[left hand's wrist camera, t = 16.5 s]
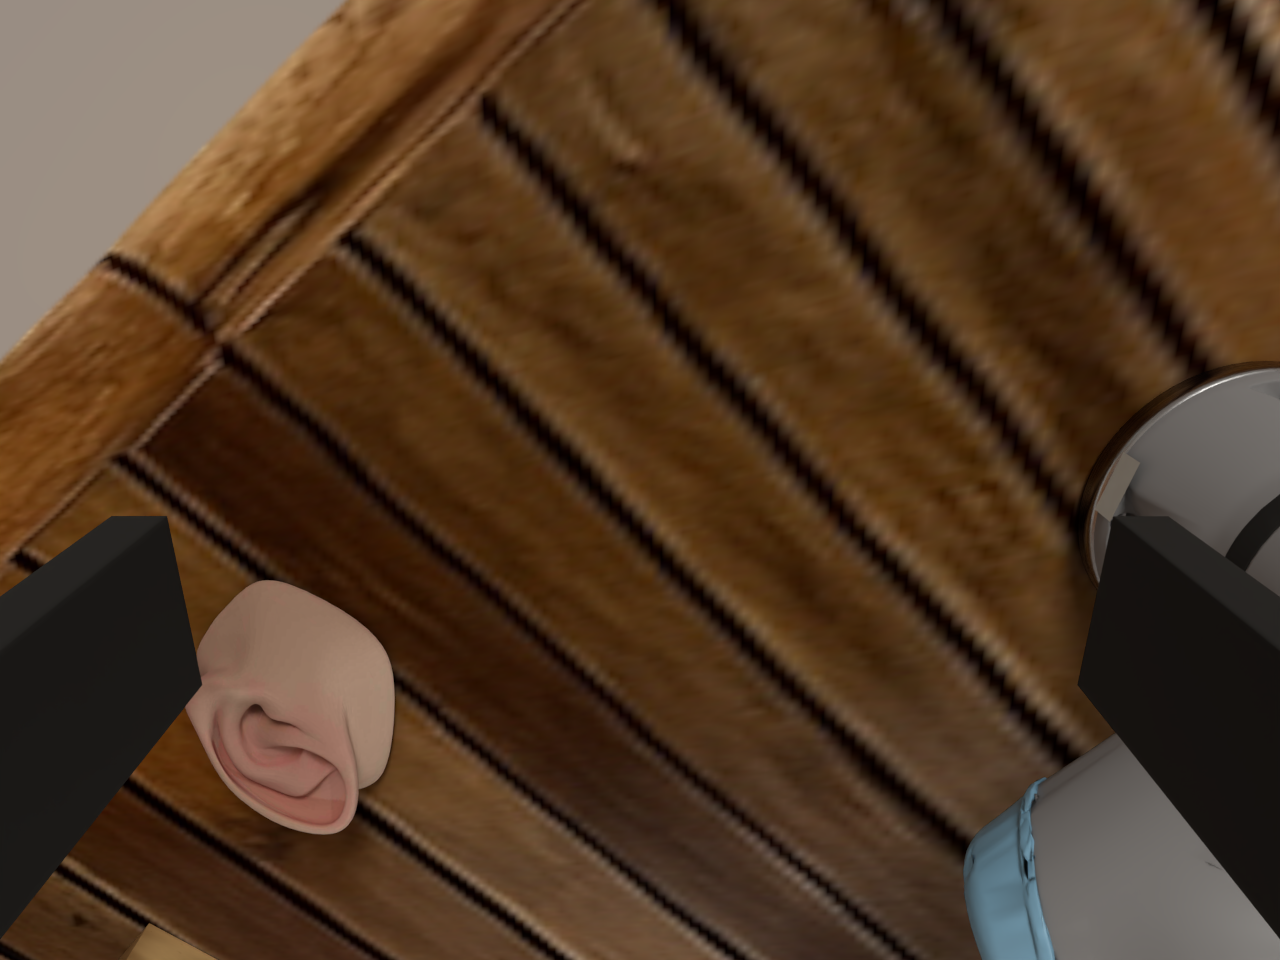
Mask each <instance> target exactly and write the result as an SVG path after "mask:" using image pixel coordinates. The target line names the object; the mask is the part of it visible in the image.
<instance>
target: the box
mask: <svg viewBox="0 0 1280 960" xmlns="http://www.w3.org/2000/svg"><path fill="white" fill-rule="evenodd" d="M119 960H217V959H215V958H214V957H212V956H210V955H208V954H206V953H204V952H202V951H201V950H199V949H197V948H195V947H193V946H191V945H189V944H187V943H186V942H184V941H182V940H180V939H178V938H176V937H174V936H173V935H171V934H169V933H167V932H165V931H163V930H161V929H159V928H158V927H156V926H154V925H152V924H150V923H149V924H148V925H147V926H146V927H145V929H144V930H143V931H142V932H141V933H140V935H139V936H138V937H137V938H136V939H135V941H134V942H133V943H132V944H131V945H130V946H129V948H128V949H127V950H126V951H125V952H124V954H123V955H122V956H121V957H120V958H119Z"/></svg>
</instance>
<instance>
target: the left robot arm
mask: <svg viewBox="0 0 1280 960" xmlns="http://www.w3.org/2000/svg"><path fill="white" fill-rule="evenodd" d="M1078 539H1079V547H1080V553H1081V557H1082V560H1083V563H1084V567H1085V569H1086V571H1087V574H1088V576H1089V578H1090V580H1091V581H1092V583H1093V585H1094V586H1095V588H1096V589H1097V595H1096V600H1095V605H1094V609H1093V614H1092V619H1091V624H1090V628H1089V633H1088V638H1087V643H1086V647H1085V652H1084V657H1083V662H1082V666H1081V671H1080V676H1079V680H1078V686H1079V687H1080V689H1081V690H1082V691H1083V692H1084V694H1085V695H1086V696H1087V697H1088V699H1089V700H1090V701H1091V702H1092V704H1093V705H1094V706H1095V707H1096V709H1097V710H1098V711H1099V712H1100V714H1101V715H1102V716H1103V717H1104V719H1105V720H1106V721H1107V722H1108V724H1109V725H1110V726H1111V727H1112V729H1113V730H1114V731H1115V733H1114V734H1113V735H1111V736H1110V737H1108V738H1107V739H1105V740H1104V741H1103V742H1101V743H1100V744H1098V745H1097V746H1095V747H1094V748H1092V749H1091V750H1090V751H1088V752H1087V753H1085V754H1084V755H1082V756H1081V757H1079V758H1078V759H1076V760H1075V761H1073V762H1072V763H1070V764H1069V765H1067V766H1066V767H1064V768H1062V769H1061V770H1059V771H1058V772H1056V773H1055V774H1053V775H1052V776H1050V777H1049V778H1045V777H1044V778H1041V779H1039V780H1037V781H1036V782H1034V783H1033V784H1031V785H1030V786H1029V787H1028V789H1027V791H1026V792H1025V794H1024V796H1023V797H1021V798H1020V799H1019V800H1018V801H1016V802H1015V803H1014V804H1013V805H1011V806H1010V807H1009V808H1008V809H1006V810H1005V811H1004V812H1003V813H1001V814H1000V815H999V816H998V817H996V818H995V819H994V820H992V821H991V822H990V823H988V824H987V825H986V826H984V827H983V828H982V829H981V830H980V831H979V832H978V833H977V834H976V835H975V837H974V838H973V840H972V841H971V843H970V845H969V847H968V850H967V852H966V856H965V863H964V869H963V876H964V884H965V885H964V889H965V890H964V896H965V902H966V907H967V912H968V916H969V920H970V924H971V928H972V931H973V934H974V938H975V941H976V944H977V947H978V949H979V952H980V955H981V958H982V960H1280V362H1275V361H1256V362H1245V363H1238V364H1232V365H1228V366H1224V367H1219V368H1216V369H1213V370H1210V371H1207V372H1204V373H1201V374H1199V375H1196V376H1194V377H1191V378H1189V379H1187V380H1185V381H1183V382H1181V383H1179V384H1177V385H1175V386H1173V387H1172V388H1170V389H1168V390H1167V391H1165V392H1163V393H1162V394H1160V395H1159V396H1157V397H1156V398H1154V399H1153V400H1152V401H1150V402H1149V403H1148V404H1146V405H1145V406H1144V407H1143V408H1142V409H1140V410H1139V411H1138V412H1137V413H1136V414H1135V415H1133V416H1132V417H1131V418H1130V419H1129V420H1128V421H1127V422H1126V423H1125V424H1124V425H1123V426H1122V428H1121V429H1120V430H1119V431H1118V432H1117V433H1116V435H1115V436H1114V437H1113V438H1112V439H1111V441H1110V442H1109V444H1108V445H1107V447H1106V448H1105V449H1104V451H1103V452H1102V454H1101V456H1100V457H1099V459H1098V461H1097V462H1096V464H1095V466H1094V468H1093V470H1092V472H1091V475H1090V477H1089V479H1088V482H1087V484H1086V487H1085V490H1084V493H1083V497H1082V501H1081V505H1080V511H1079V519H1078ZM201 686H202V680H201V676H200V671H199V666H198V662H197V657H196V652H195V647H194V643H193V638H192V633H191V628H190V624H189V619H188V614H187V609H186V605H185V600H184V595H183V590H182V586H181V581H180V576H179V572H178V567H177V562H176V557H175V553H174V548H173V543H172V538H171V534H170V529H169V524H168V519H167V516H111V517H110V518H108V519H107V520H106V521H104V522H103V523H102V524H100V525H99V526H97V527H96V528H95V529H93V530H92V531H91V532H89V533H88V534H86V535H85V536H84V537H82V538H81V539H79V540H78V541H77V542H75V543H74V544H73V545H71V546H70V547H68V548H67V549H66V550H64V551H63V552H61V553H60V554H59V555H57V556H56V557H55V558H53V559H52V560H50V561H49V562H48V563H46V564H45V565H43V566H42V567H41V568H39V569H38V570H37V571H35V572H34V573H32V574H31V575H30V576H28V577H27V578H25V579H24V580H23V581H21V582H20V583H19V584H17V585H16V586H14V587H13V588H12V589H10V590H9V591H7V592H6V593H5V594H3V595H2V596H1V597H0V939H1V937H2V936H3V935H4V934H5V932H6V931H7V930H8V929H9V927H10V926H11V925H12V924H13V922H14V921H15V920H16V919H17V917H18V916H19V915H20V914H21V912H22V911H23V910H24V909H25V907H26V906H27V905H28V904H29V902H30V901H31V900H32V898H33V897H34V896H35V895H36V893H37V892H38V891H39V890H40V888H41V887H42V886H43V885H44V883H45V882H46V881H47V880H48V878H49V877H50V876H51V875H52V873H53V872H54V871H55V870H56V868H57V867H58V866H59V865H60V863H61V862H62V861H63V860H64V858H65V857H66V856H67V854H68V853H69V852H70V851H71V849H72V848H73V847H74V846H75V844H76V843H77V842H78V841H79V839H80V838H81V837H82V836H83V834H84V833H85V832H86V831H87V829H88V828H89V827H90V826H91V824H92V823H93V822H94V821H95V819H96V818H97V817H98V815H99V814H100V813H101V812H102V810H103V809H104V808H105V807H106V805H107V804H108V803H109V802H110V800H111V799H112V798H113V797H114V795H115V794H116V793H117V792H118V790H119V789H120V788H121V787H122V785H123V784H124V783H125V782H126V780H127V779H128V778H129V777H130V775H131V774H132V773H133V771H134V770H135V769H136V768H137V766H138V765H139V764H140V763H141V761H142V760H143V759H144V758H145V756H146V755H147V754H148V753H149V751H150V750H151V749H152V748H153V746H154V745H155V744H156V743H157V741H158V740H159V739H160V738H161V736H162V735H163V734H164V733H165V731H166V730H167V729H168V727H169V726H170V725H171V724H172V722H173V721H174V720H175V719H176V717H177V716H178V715H179V714H180V712H181V711H182V710H183V709H184V707H185V706H186V705H187V704H188V702H189V701H190V700H191V699H192V697H193V696H194V695H195V694H196V692H197V691H198V690H199V689H200V687H201Z"/></svg>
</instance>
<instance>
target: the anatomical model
mask: <svg viewBox="0 0 1280 960" xmlns="http://www.w3.org/2000/svg"><path fill="white" fill-rule="evenodd" d="M197 662H198V666H199V671H200V675H201V680H202V686H201V687H200V689H199V690H198V691H197V692H196V694H195V695H194V696H193V697H192V699H191V700H190V701H189V702H188V704H187V705H186V706H185V708H186V711H187V714H188V716H189V718H190V720H191V722H192V724H193V726H194V728H195V730H196V732H197V734H198V736H199V738H200V740H201V743H202V745H203V747H204V749H205V751H206V753H207V755H208V757H209V759H210V761H211V763H212V765H213V766H214V768H215V770H216V771H217V773H218V774H219V776H220V777H221V779H222V780H223V781H224V783H225V784H226V785H227V786H228V788H229V789H230V790H231V791H232V792H233V793H234V794H235V795H236V796H237V797H238V798H239V799H241V800H242V801H243V802H245V803H246V804H247V805H249V806H250V807H251V808H252V809H254V810H255V811H257V812H258V813H260V814H262V815H263V816H265V817H266V818H268V819H270V820H272V821H274V822H276V823H278V824H280V825H283V826H285V827H288V828H291V829H294V830H298V831H302V832H307V833H312V834H333V833H337V832H339V831H341V830H343V829H344V828H346V827H347V826H348V825H349V823H350V822H351V820H352V819H353V817H354V814H355V811H356V808H357V803H358V796H359V789H361V788H364V787H367V786H369V785H371V784H373V783H374V782H375V781H377V780H378V779H379V777H380V776H381V775H382V773H383V771H384V769H385V767H386V764H387V761H388V757H389V753H390V748H391V742H392V735H393V725H394V706H395V696H394V680H393V672H392V668H391V664H390V661H389V658H388V655H387V653H386V651H385V650H384V648H383V646H382V645H381V644H380V642H379V641H378V640H377V638H376V637H375V636H374V635H373V634H372V633H371V632H370V631H369V630H368V629H367V628H365V627H364V626H363V625H362V624H361V623H359V622H358V621H357V620H356V619H354V618H353V617H351V616H350V615H348V614H347V613H345V612H344V611H342V610H341V609H339V608H337V607H336V606H334V605H332V604H330V603H329V602H327V601H325V600H323V599H321V598H319V597H317V596H315V595H313V594H311V593H309V592H307V591H305V590H302V589H300V588H297V587H295V586H292V585H290V584H287V583H283V582H279V581H274V580H264V581H259V582H256V583H253V584H251V585H250V586H248V587H247V588H245V589H244V590H243V591H242V592H240V593H239V594H238V595H237V596H236V597H235V598H234V599H233V600H232V601H231V602H230V603H229V604H228V605H227V606H226V608H225V609H224V610H223V611H222V612H221V613H220V614H219V615H218V616H217V618H216V619H215V620H214V621H213V623H212V624H211V626H210V627H209V629H208V631H207V632H206V634H205V636H204V637H203V639H202V641H201V643H200V645H199V648H198V651H197Z"/></svg>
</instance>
